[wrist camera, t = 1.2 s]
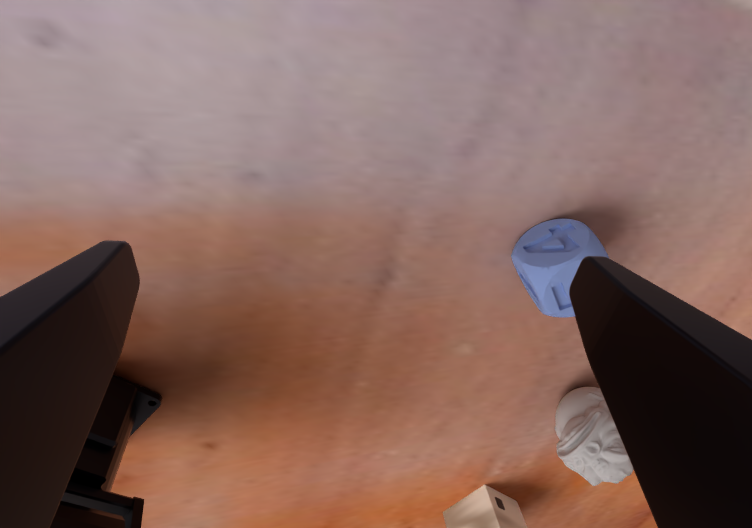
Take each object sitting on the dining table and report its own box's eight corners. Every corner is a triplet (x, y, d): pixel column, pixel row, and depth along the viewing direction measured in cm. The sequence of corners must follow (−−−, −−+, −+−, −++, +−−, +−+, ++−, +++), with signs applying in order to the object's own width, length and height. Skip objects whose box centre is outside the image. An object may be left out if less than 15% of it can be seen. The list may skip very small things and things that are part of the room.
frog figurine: (565, 355, 33) (623, 439, 27) (631, 379, 36) (696, 460, 30) (514, 409, 36) (556, 497, 30) (578, 428, 38) (629, 512, 32)
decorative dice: (503, 240, 27) (532, 279, 24) (568, 207, 26) (607, 243, 23) (523, 287, 29) (553, 329, 26) (583, 257, 28) (621, 297, 25)
